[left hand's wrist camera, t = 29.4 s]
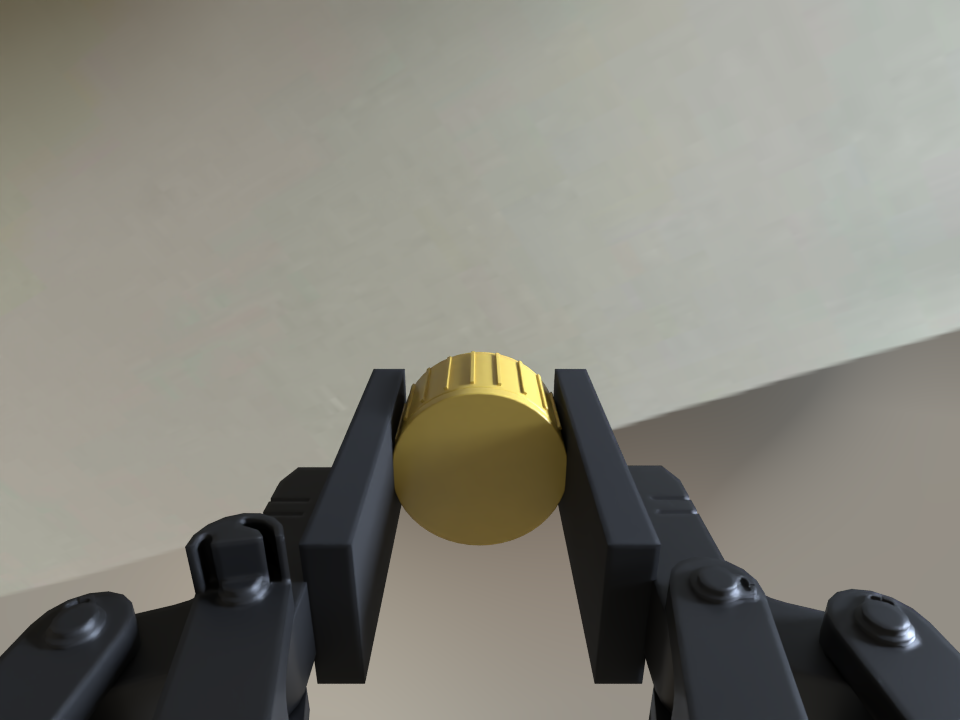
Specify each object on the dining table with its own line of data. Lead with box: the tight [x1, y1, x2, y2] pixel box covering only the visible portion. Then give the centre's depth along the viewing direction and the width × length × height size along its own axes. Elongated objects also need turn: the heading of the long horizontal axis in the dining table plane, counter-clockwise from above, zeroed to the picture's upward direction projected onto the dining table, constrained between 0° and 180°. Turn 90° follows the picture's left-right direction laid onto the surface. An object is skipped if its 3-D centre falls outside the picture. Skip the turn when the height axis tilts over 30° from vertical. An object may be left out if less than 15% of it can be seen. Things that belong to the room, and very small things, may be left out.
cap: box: [393, 351, 567, 545], centre depth 14 cm, size 4×4×2 cm
